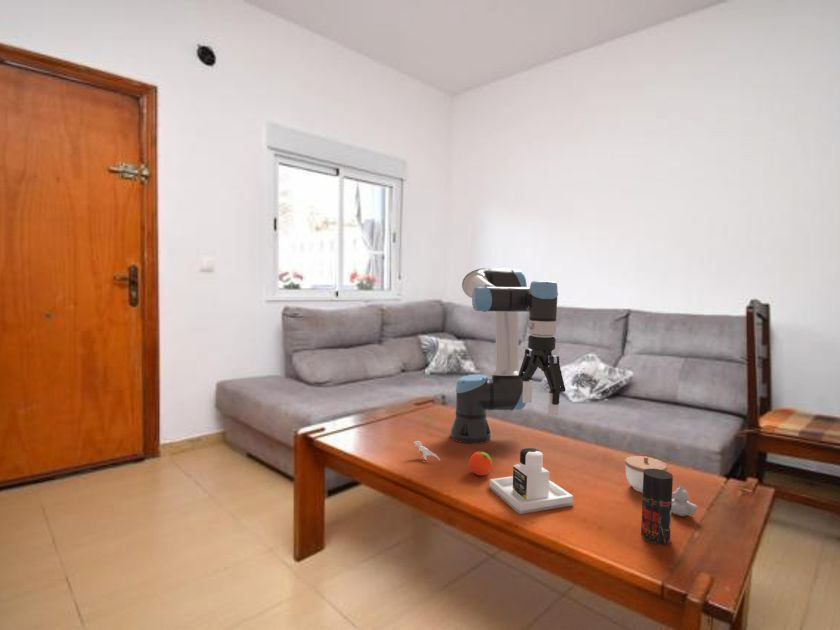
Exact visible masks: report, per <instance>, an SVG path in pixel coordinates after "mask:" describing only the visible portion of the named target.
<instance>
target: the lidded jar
mask: <svg viewBox="0 0 840 630" xmlns="http://www.w3.org/2000/svg"><path fill="white" fill-rule="evenodd" d="M624 464H625V465H624V466H625V467H624V468H625V477H626V479H627V482H628V483H629V484H630V485H631V487H632V488H633V490H635V491H637V492H638V493H642V494H643V472H644V470H645V469H660V470H664V471H667V472H668V465H667V464H666V463H665V462H663V461H662V460H660V459H656V458H654V457H649V456H641V455H631V456H627V457H626V458H625V459H624Z"/></svg>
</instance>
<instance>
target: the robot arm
mask: <svg viewBox="0 0 840 630" xmlns="http://www.w3.org/2000/svg"><path fill="white" fill-rule="evenodd" d="M527 284H528V283H527V279H526V276H525V273H524V272H523V270H521V269H518V268H510V267H509V268H499V267H498V268H493V267H492V268H488V267H484V268H478V269H473V270H471V271H470V272H468V273H467V274H466V275H465V276H464V278H463V279H462V283H461V287H462V291H463V292H464V294H465V295H466V296H467V297H469V298H470V299H471V304H472V309H473V310H474V311H475V312H483V313H487V312H495V371H493V373H491V378H488V376H487V375H485V374H469V375H465V376H464V375H463V376H462V377H459V378H458V379H457V381H456V385H455V417H454V421H453V423H452V426H451V429H450V438H451V437H452V438H453V439H455V440H454V441H456V440H457V441H456V442H458V441H461V442H460V443H463V442H466V443H465V444H482V443H481V442H484V443H487V442H489V441H490V440H491V439H492V437H491V436H492V434H491V433H492V432H491V429H490V424H489V422H488V419H487V418H488V417H487V412H488V411H510V412H513V411H521V410H523V409H524V408H525V407H526V405H527V403H532V400H533V399H532V397H533V395H532V394H533V376H534V375H535V373H536V371H537V369H538V368H539V369H540V370H541V372H543V374H544V377H545V379H546V381H547V384H548V387H549V391H548V403H547V405H548V406H547V407H548V410H547V416H549V417H555V416H559V408H560V407H559V406H560V397H561V396H560V395H561V393H563V392H566V385H565V382H564V377H563V374H562V369H561V365H560V356H559V355H553V354H552V352H553V351H554V350H555V349H556V339H557V338H556V335H557V315H558V314H557V313H558V296H559V293H558V283H557V282H556V281H554V280H553V281H550V280H534V281H531V282H530V285H529V286H528V285H527ZM519 313H529V314H528V315H529V317H528V334H530V335H529V336H528V339H527V341H528V342H527V348H525V350H524V355H523V356H524V357H523V358H522V362H521V366H520V358H519V357H520V356H519V355H520V353H519V351H520V350H519V348H520V347H519ZM452 438H451V439H452ZM490 438H491V439H490ZM453 439H452V440H453ZM488 440H489V441H488ZM486 441H487V442H486Z"/></svg>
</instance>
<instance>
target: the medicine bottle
mask: <svg viewBox="0 0 840 630" xmlns="http://www.w3.org/2000/svg"><path fill="white" fill-rule="evenodd" d="M543 460H544V454H543V452H542V451H541V450H539V449H537V448H534V447H526V448H522V449H521V450H520V451H519V463H518V464H514V465H512V476H513V490H514V491H515V492H516V493H518V494H519V495H520V496H521V497H522V498H524V499H525V500H533V499H539V498H546V497H549V480H550V471H549V470H547V469H546V468H545V467H543V465H544V464H543V463H544V461H543Z"/></svg>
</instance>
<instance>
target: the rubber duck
mask: <svg viewBox="0 0 840 630" xmlns="http://www.w3.org/2000/svg"><path fill="white" fill-rule="evenodd" d="M697 509H698V506H697V504H695V503H692V502H690V501H689V492H688V491H687V490H686V488H685V487H684V486H682V485H681V484H679V487H677V488H676V489H675V490H674V491H672V507H671V513H672V514H674V515H676V516H678V517H685V516H688V515H690V516H696V514H697V513H696V512H697Z"/></svg>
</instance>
